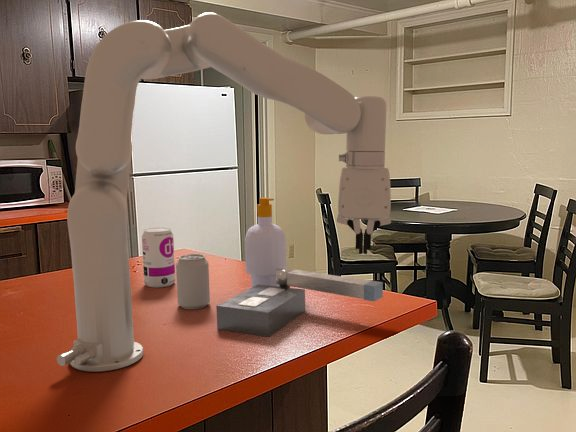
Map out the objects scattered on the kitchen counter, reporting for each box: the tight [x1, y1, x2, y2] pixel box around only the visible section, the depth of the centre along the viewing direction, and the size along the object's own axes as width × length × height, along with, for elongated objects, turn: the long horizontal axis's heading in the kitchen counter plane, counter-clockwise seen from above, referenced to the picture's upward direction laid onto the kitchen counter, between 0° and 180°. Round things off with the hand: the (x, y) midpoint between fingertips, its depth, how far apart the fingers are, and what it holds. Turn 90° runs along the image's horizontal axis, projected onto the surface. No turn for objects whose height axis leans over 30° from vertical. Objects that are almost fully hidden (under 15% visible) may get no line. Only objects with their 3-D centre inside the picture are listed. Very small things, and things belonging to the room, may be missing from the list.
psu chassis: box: [215, 284, 306, 338], centre depth 123 cm, size 22×12×5 cm, turn 155°
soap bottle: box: [244, 197, 287, 288], centre depth 141 cm, size 10×10×24 cm
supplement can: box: [141, 227, 176, 289], centre depth 152 cm, size 8×8×15 cm
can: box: [175, 253, 211, 310], centre depth 132 cm, size 8×8×12 cm
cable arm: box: [276, 267, 384, 302], centre depth 124 cm, size 26×4×3 cm, turn 54°
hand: (362, 252), depth 113 cm, fingers closed
